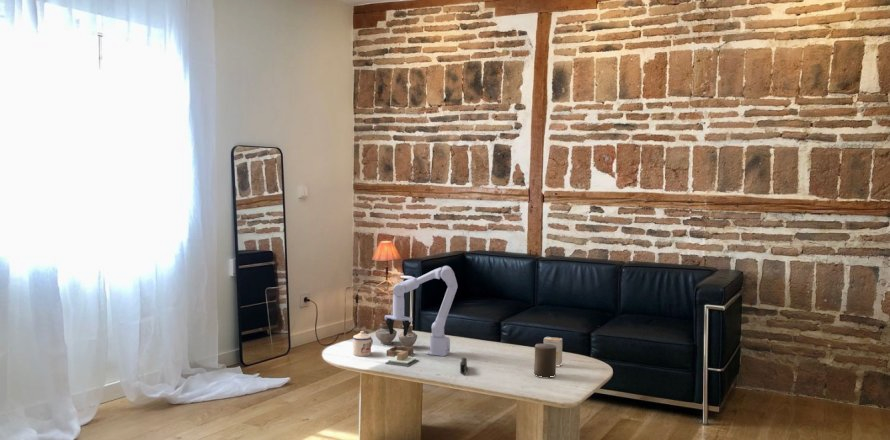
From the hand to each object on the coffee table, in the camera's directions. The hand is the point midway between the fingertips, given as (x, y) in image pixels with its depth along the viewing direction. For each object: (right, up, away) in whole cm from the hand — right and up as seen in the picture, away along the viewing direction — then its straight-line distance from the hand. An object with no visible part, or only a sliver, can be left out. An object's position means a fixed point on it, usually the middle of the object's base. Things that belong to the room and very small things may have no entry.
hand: (398, 334), depth 373 cm
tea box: (+1, -10, -2) cm, 10 cm away
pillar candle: (+69, -13, -34) cm, 78 cm away
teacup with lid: (-17, -10, -1) cm, 20 cm away
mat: (+3, -11, -16) cm, 19 cm away
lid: (+3, -10, -15) cm, 18 cm away
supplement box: (+75, -12, -17) cm, 78 cm away
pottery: (-2, -8, +17) cm, 19 cm away
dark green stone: (+32, -13, -29) cm, 45 cm away
